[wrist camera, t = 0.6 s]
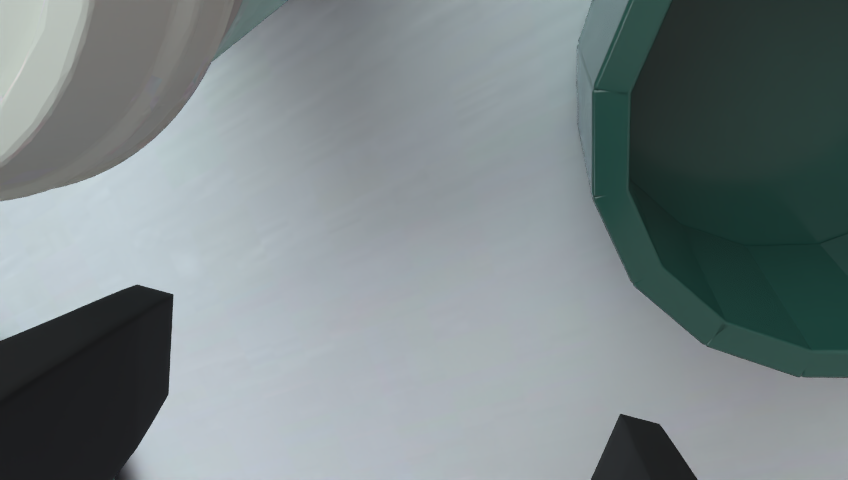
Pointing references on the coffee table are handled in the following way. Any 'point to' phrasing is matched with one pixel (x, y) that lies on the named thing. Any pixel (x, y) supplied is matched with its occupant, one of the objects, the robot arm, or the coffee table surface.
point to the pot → (726, 167)
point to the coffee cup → (101, 79)
